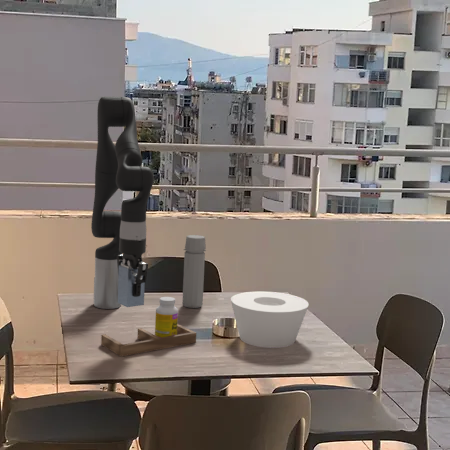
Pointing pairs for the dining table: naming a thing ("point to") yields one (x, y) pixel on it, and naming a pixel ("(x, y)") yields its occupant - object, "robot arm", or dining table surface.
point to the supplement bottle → (166, 318)
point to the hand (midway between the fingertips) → (131, 293)
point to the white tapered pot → (268, 318)
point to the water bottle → (194, 271)
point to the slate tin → (128, 287)
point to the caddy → (149, 342)
